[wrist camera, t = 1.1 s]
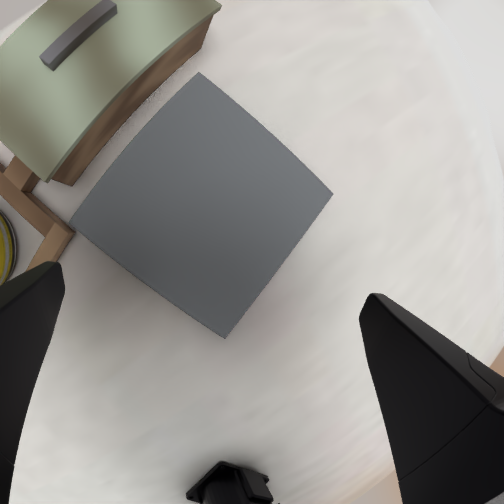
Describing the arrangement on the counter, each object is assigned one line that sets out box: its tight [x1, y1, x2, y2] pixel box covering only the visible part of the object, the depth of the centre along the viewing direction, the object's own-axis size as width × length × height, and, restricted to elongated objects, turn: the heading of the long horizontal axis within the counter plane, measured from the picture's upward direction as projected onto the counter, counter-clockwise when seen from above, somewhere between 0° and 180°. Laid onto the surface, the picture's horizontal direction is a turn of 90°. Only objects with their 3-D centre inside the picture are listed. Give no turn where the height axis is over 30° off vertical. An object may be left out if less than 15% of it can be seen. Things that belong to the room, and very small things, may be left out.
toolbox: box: [0, 0, 222, 272], centre depth 14 cm, size 28×11×7 cm, turn 140°
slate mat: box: [69, 72, 333, 339], centre depth 22 cm, size 14×14×1 cm
